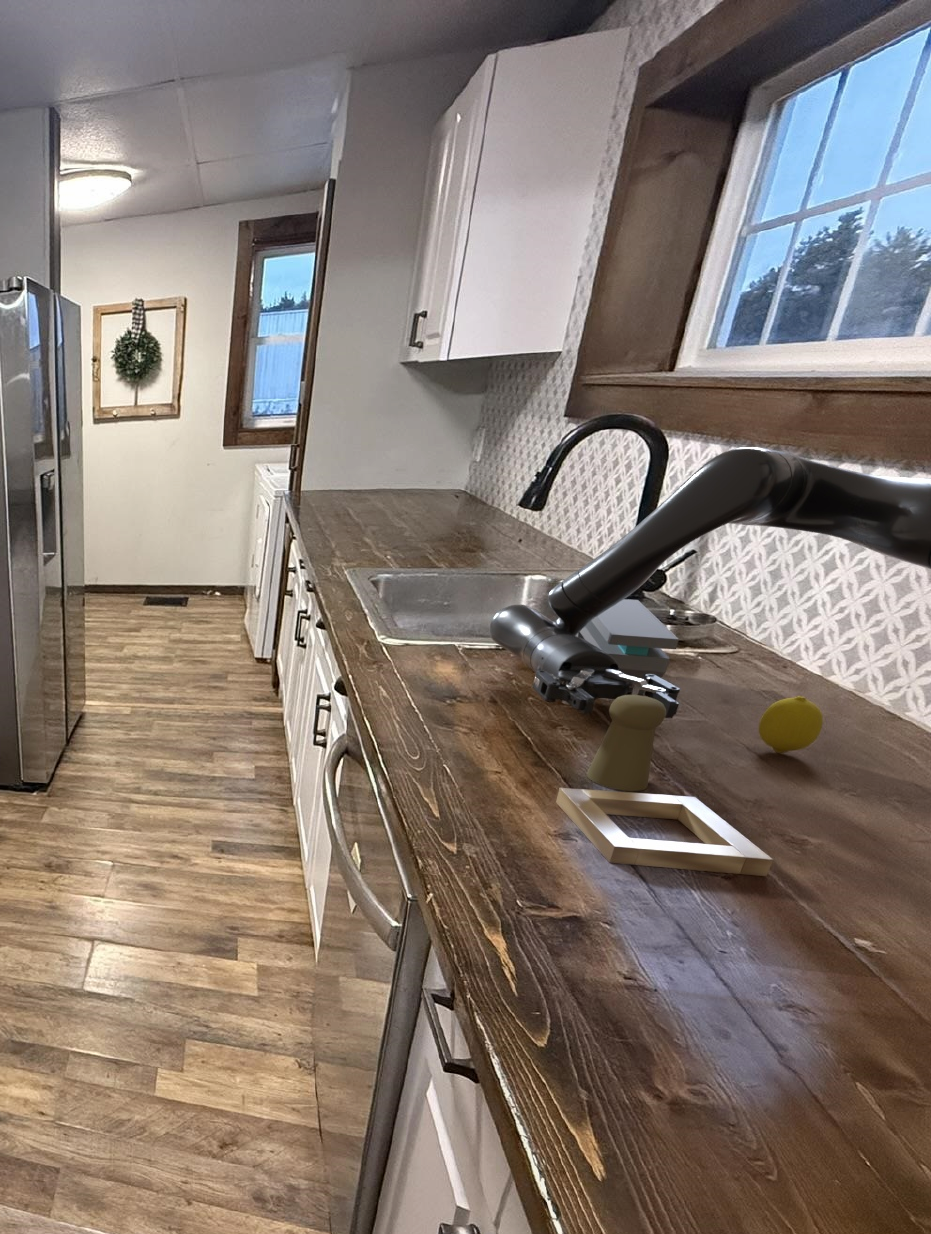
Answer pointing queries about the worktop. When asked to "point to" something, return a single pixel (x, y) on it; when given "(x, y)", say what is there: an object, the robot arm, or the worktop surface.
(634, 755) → the cork
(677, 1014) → the worktop surface
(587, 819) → the wooden frame
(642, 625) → the grey slotted holder
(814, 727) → the lemon
